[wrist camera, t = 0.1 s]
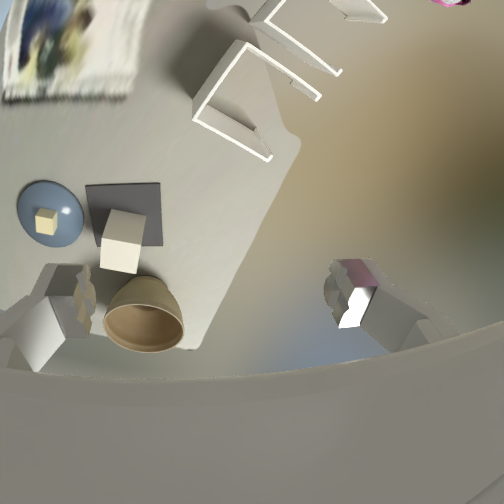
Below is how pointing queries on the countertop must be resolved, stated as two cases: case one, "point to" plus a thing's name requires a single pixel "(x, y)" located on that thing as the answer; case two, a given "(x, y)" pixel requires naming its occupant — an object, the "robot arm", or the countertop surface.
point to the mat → (127, 207)
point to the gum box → (451, 2)
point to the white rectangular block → (122, 241)
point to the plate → (52, 199)
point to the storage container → (349, 3)
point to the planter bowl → (144, 316)
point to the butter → (46, 221)
